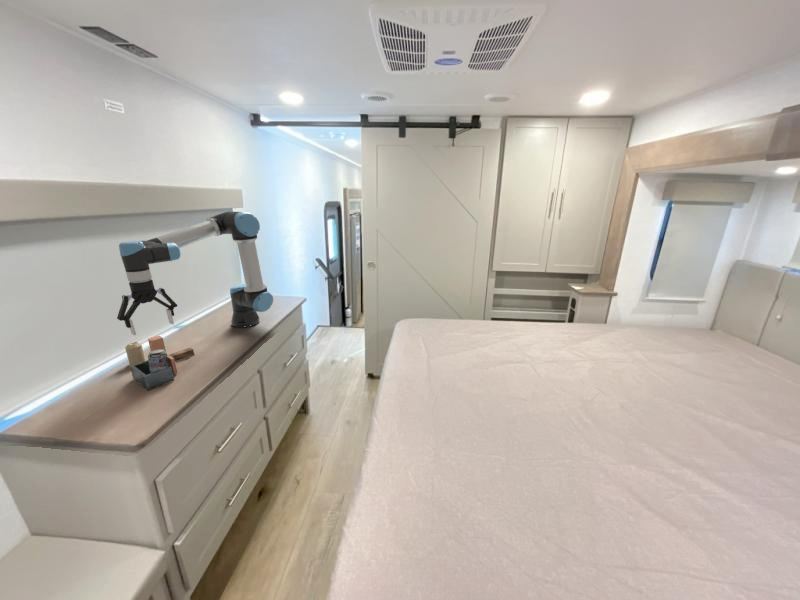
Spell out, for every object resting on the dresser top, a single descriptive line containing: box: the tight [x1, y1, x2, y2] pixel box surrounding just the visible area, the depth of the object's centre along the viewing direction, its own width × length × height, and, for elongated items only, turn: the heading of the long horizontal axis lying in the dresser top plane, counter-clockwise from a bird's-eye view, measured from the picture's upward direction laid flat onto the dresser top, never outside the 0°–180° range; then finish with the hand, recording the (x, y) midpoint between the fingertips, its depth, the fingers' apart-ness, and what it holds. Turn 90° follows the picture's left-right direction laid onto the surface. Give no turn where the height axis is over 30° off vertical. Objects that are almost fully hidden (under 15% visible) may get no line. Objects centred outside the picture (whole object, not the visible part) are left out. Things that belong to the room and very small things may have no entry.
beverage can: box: [147, 349, 168, 374], centre depth 126 cm, size 6×7×12 cm
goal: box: [129, 359, 175, 391], centre depth 125 cm, size 9×14×6 cm, turn 57°
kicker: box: [147, 335, 178, 375], centre depth 132 cm, size 4×16×12 cm, turn 57°
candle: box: [125, 341, 147, 367], centre depth 136 cm, size 6×6×10 cm
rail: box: [168, 347, 195, 363], centre depth 140 cm, size 16×3×3 cm, turn 147°
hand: (153, 328), depth 132 cm, fingers open, 13 cm apart
